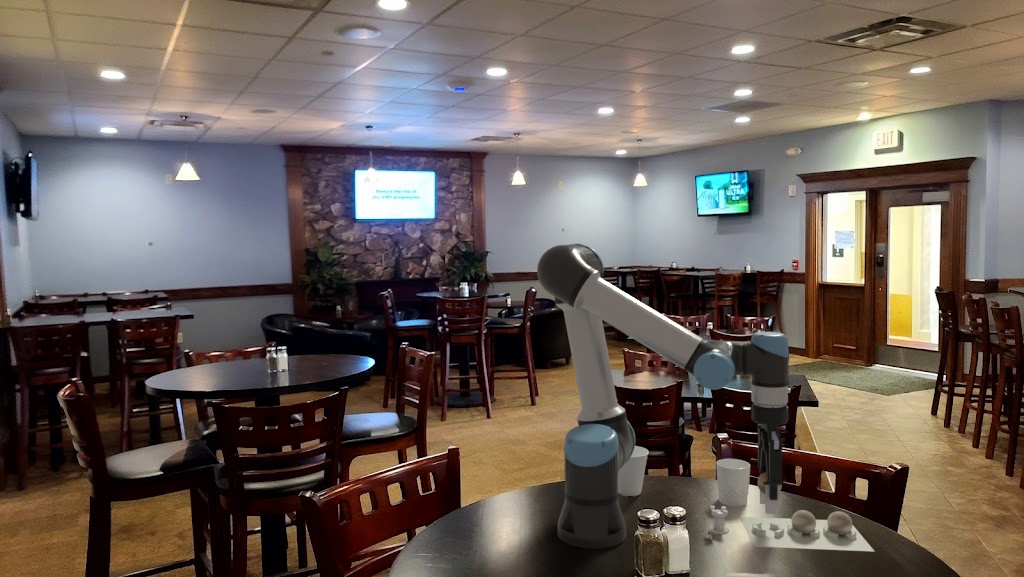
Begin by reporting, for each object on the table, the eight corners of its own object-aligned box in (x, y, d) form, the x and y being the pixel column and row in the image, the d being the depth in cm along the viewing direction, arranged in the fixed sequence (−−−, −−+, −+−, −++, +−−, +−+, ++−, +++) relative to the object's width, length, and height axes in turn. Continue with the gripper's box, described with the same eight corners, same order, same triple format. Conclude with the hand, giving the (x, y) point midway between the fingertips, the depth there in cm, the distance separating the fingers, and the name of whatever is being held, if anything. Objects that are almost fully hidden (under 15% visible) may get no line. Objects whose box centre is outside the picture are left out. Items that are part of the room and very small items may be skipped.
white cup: (745, 498, 182) (746, 458, 181) (753, 510, 174) (753, 469, 173) (713, 497, 182) (713, 458, 182) (719, 509, 175) (719, 468, 174)
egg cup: (710, 536, 159) (710, 512, 159) (707, 528, 164) (707, 504, 163) (730, 537, 159) (730, 512, 158) (727, 528, 163) (727, 505, 163)
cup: (609, 498, 182) (608, 456, 181) (610, 485, 192) (610, 444, 191) (649, 500, 181) (649, 457, 180) (648, 486, 190) (648, 445, 190)
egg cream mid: (794, 537, 157) (794, 514, 156) (788, 528, 162) (789, 506, 161) (818, 538, 156) (819, 515, 156) (812, 528, 161) (812, 506, 160)
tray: (754, 549, 152) (754, 541, 152) (740, 519, 168) (740, 512, 168) (874, 554, 149) (875, 546, 149) (849, 523, 165) (849, 516, 165)
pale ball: (831, 538, 156) (831, 516, 155) (824, 529, 161) (824, 507, 160) (855, 539, 155) (856, 517, 155) (847, 530, 160) (848, 508, 160)
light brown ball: (760, 498, 157) (760, 476, 156) (755, 490, 162) (755, 468, 161) (784, 499, 156) (784, 476, 156) (778, 491, 161) (778, 469, 161)
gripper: (798, 414, 148) (797, 525, 150) (778, 394, 166) (777, 494, 168) (760, 413, 149) (760, 524, 151) (744, 394, 167) (744, 493, 169)
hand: (769, 508), depth 159 cm, fingers closed on light brown ball, 5 cm apart
